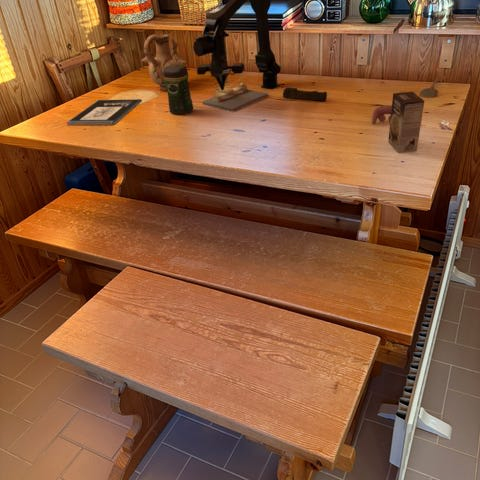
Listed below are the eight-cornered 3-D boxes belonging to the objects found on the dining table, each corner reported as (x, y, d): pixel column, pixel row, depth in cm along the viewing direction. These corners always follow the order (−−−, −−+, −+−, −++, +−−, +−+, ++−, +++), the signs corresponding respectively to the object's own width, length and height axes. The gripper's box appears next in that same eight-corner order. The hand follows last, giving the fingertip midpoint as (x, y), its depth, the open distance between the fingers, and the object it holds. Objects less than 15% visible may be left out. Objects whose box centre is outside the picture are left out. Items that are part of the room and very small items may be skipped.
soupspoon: (417, 100, 183) (434, 102, 181) (419, 91, 181) (436, 93, 179) (429, 81, 198) (445, 83, 195) (430, 73, 196) (447, 75, 193)
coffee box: (387, 142, 151) (392, 92, 142) (406, 139, 151) (412, 90, 142) (397, 153, 143) (403, 102, 134) (417, 151, 144) (425, 99, 134)
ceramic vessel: (191, 90, 216) (182, 32, 202) (150, 97, 213) (139, 39, 198) (184, 80, 230) (176, 26, 216) (146, 86, 227) (135, 32, 213)
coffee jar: (196, 109, 193) (190, 63, 183) (186, 116, 188) (179, 69, 177) (177, 107, 197) (169, 62, 186) (167, 114, 191) (158, 68, 181)
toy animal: (400, 126, 164) (402, 106, 163) (400, 125, 160) (403, 104, 159) (371, 125, 167) (374, 105, 166) (371, 124, 163) (373, 103, 162)
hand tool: (327, 100, 190) (327, 88, 187) (323, 103, 187) (324, 91, 184) (286, 96, 198) (285, 85, 196) (281, 99, 195) (281, 88, 193)
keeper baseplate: (238, 89, 210) (237, 78, 207) (268, 96, 199) (267, 84, 196) (202, 104, 198) (201, 92, 195) (232, 111, 187) (231, 99, 184)
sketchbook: (142, 102, 210) (141, 97, 209) (113, 127, 186) (112, 122, 185) (99, 102, 215) (98, 98, 213) (66, 126, 191) (64, 122, 190)
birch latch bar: (242, 88, 206) (242, 84, 205) (249, 90, 204) (248, 85, 203) (212, 100, 197) (212, 95, 196) (219, 101, 194) (218, 97, 193)
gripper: (190, 56, 179) (196, 96, 188) (237, 54, 175) (240, 95, 184) (198, 49, 188) (203, 88, 197) (243, 47, 184) (246, 87, 193)
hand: (222, 90), depth 192 cm, fingers closed
